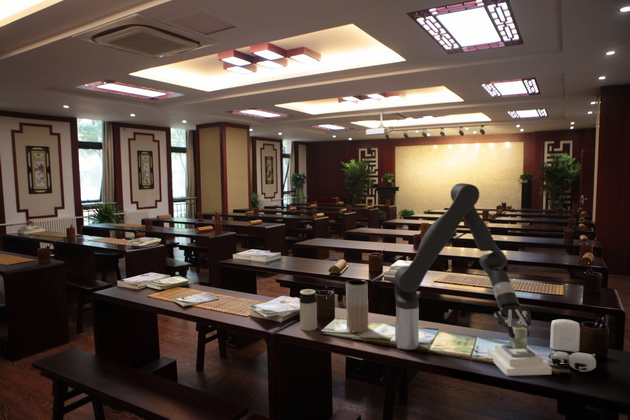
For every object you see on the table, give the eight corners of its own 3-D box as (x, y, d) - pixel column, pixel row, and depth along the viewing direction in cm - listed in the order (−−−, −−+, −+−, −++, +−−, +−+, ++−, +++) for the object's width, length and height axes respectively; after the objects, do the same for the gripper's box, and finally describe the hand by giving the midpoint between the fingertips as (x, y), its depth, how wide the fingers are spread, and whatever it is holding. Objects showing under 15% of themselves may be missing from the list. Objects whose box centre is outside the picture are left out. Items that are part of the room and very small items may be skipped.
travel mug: (320, 326, 199) (319, 290, 198) (311, 332, 192) (310, 294, 191) (306, 324, 203) (305, 288, 202) (297, 329, 197) (296, 292, 195)
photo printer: (577, 348, 168) (578, 319, 167) (580, 353, 164) (581, 322, 163) (548, 346, 171) (549, 317, 170) (551, 350, 167) (552, 320, 166)
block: (514, 349, 153) (515, 329, 152) (509, 344, 157) (509, 325, 156) (526, 348, 153) (527, 329, 152) (521, 344, 157) (521, 325, 156)
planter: (353, 323, 202) (352, 278, 200) (371, 327, 196) (371, 280, 194) (342, 330, 194) (341, 282, 192) (361, 334, 188) (360, 285, 186)
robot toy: (546, 369, 154) (594, 378, 144) (545, 357, 153) (594, 365, 144) (551, 357, 163) (597, 364, 154) (551, 346, 163) (597, 352, 154)
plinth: (506, 375, 148) (507, 359, 147) (487, 356, 164) (487, 341, 163) (551, 374, 148) (551, 358, 147) (527, 354, 164) (528, 340, 163)
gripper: (490, 292, 161) (504, 334, 150) (527, 290, 161) (543, 332, 150) (484, 301, 167) (497, 342, 156) (520, 300, 167) (535, 341, 156)
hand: (520, 337), depth 153 cm, fingers closed on block, 4 cm apart
